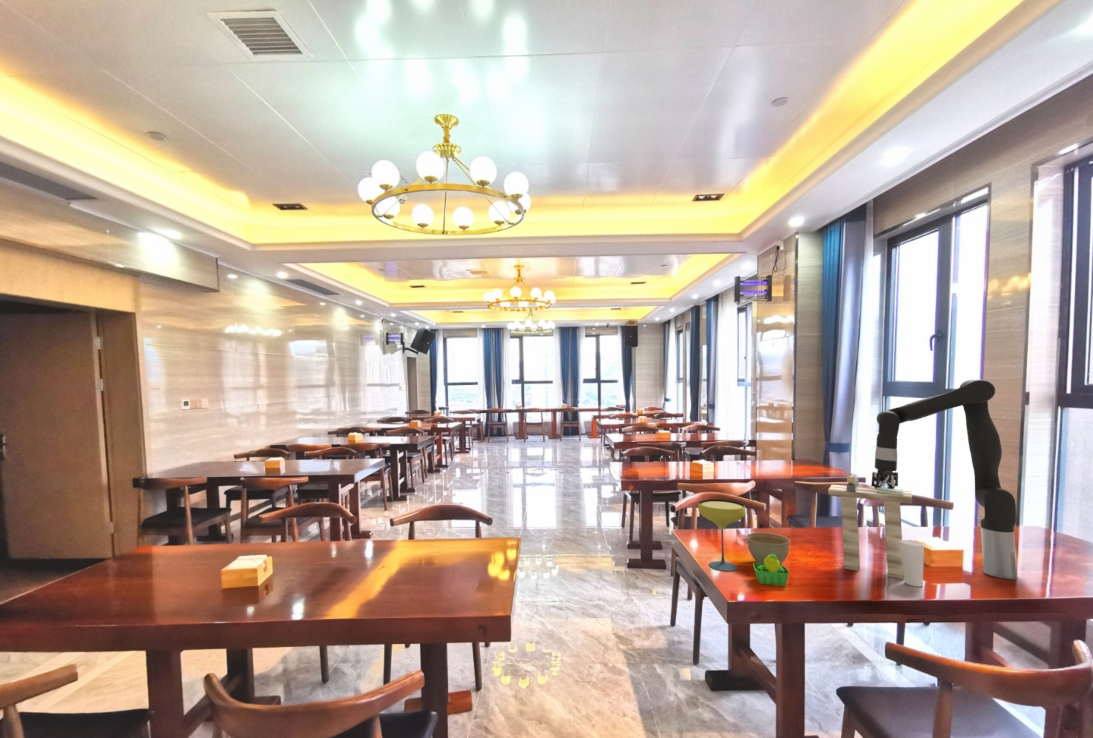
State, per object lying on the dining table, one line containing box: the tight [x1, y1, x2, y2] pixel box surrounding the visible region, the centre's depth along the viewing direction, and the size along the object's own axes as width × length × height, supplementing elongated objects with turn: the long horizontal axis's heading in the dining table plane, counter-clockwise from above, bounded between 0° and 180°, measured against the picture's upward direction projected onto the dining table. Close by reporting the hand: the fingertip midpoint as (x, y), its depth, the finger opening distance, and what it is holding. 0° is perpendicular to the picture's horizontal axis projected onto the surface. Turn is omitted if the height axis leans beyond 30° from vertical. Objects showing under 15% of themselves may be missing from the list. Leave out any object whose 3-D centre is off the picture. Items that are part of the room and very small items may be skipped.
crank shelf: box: [827, 484, 913, 580], centre depth 179 cm, size 14×26×32 cm, turn 53°
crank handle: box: [846, 475, 860, 492], centre depth 188 cm, size 22×3×6 cm, turn 143°
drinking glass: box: [900, 539, 925, 588], centre depth 169 cm, size 7×7×15 cm
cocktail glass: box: [697, 499, 746, 572], centre depth 189 cm, size 18×18×25 cm
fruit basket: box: [752, 554, 790, 587], centre depth 172 cm, size 11×9×11 cm
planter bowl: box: [745, 532, 790, 566], centre depth 190 cm, size 16×16×11 cm
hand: (884, 496), depth 195 cm, fingers open, 8 cm apart
